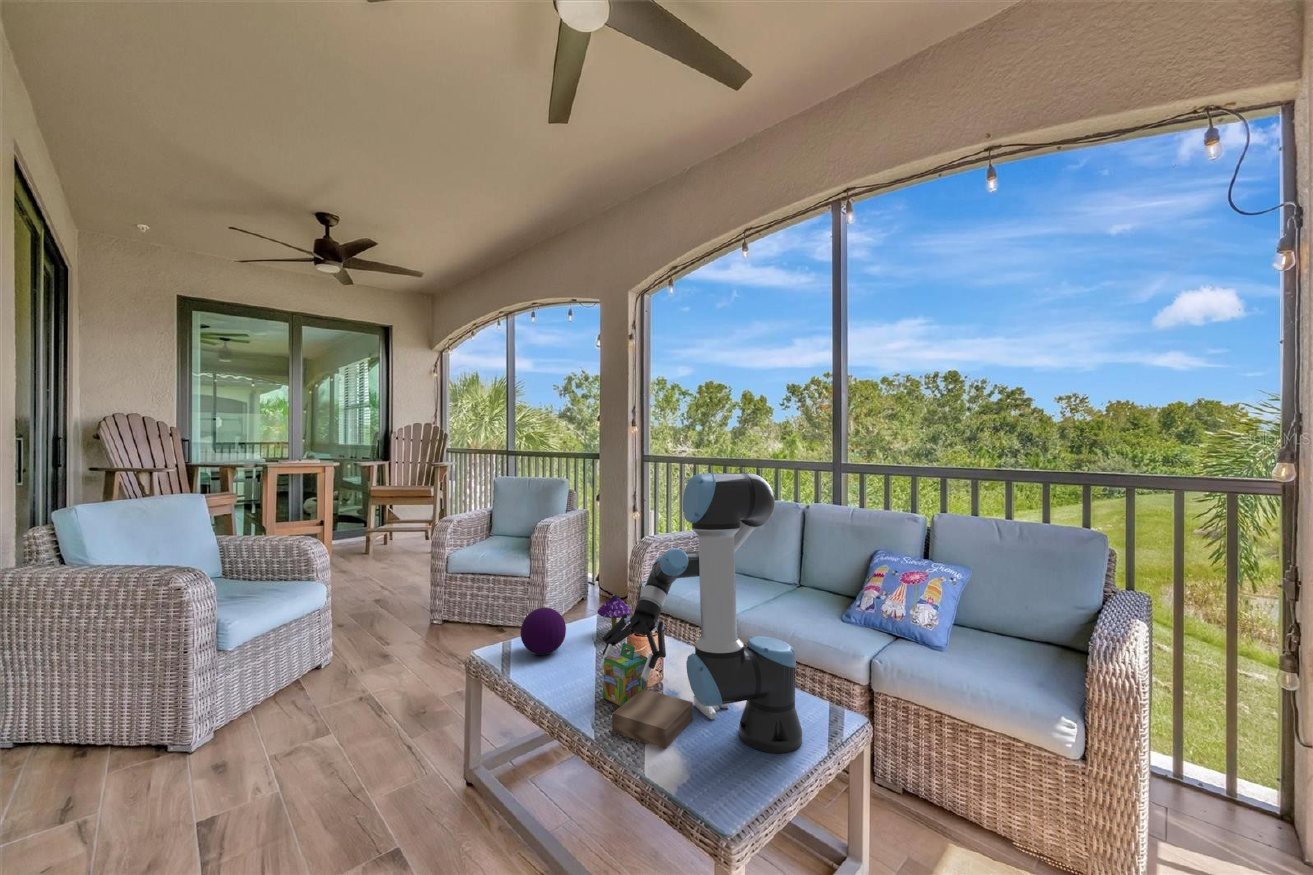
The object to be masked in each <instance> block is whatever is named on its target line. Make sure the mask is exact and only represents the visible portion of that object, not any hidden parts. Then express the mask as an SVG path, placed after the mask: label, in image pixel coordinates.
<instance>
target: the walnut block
mask: <svg viewBox="0 0 1313 875" xmlns="http://www.w3.org/2000/svg"><path fill="white" fill-rule="evenodd" d="M693 705H694V701H693V702H692V701H690V700H689V701H688V700H685V699H683V698H682V699H681V698H678V697H675V696H671V695H667V694H664V693H660V692H656V691H652V690H650V689H647V690H646V689H642V690H640V691H639V692H638V693H637V694H635V695H634V696H633V697H632V698H631V699H629V700H628V701H627V702H626V703H624V704H623V705H622V706H621V707H620V706H619V707H618V708H617V709H616V710H614V711H613V712H612V713H611V714H612V718H611V720H612V721H611V724H612V726H611V732H612V733H615V734H617V735H621V736H623V737H627V738H630V739H633V740H635V741H636V740H637V741H639V742H643V743H646V744H647V745H648V744H649V745H652V746H654V747H655V746H656V747H657V748H661V749H664V750H666V749H668V747H669V746H670V745H671V744H672V743H673V742H674V741H675V740H676V738H678V736H679V735H680V734H681V733H682V732H683V731H684V730H685V729H686V727H687V726H688V725H689V724H691V722H693V718H694V717H693V716H694V715H693V712H694V711H693V710H694V709H693Z"/></svg>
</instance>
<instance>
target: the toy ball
mask: <svg viewBox="0 0 1313 875" xmlns="http://www.w3.org/2000/svg"><path fill="white" fill-rule="evenodd" d="M566 633H567V625H566V622H565V619H564V617H563V616H562V615H561V613H560V612H558V611H557V610H555V609H554V608H550V607H538V608H536V609H534V610H532V611H530V613H528V614H527V615H526V616H525V617H524V620H523V621H522V624H521V628H520V639H521V642H522V644H523V646H524V647H525V649H526V650H528V651H529V652H531V653H532V654H534V655H540V656H546V655H549V654H551V653H553V652H555V651H557V650H558V649H559V648H560V647H561V646H562V644H563V643H564V640H565V638H566Z"/></svg>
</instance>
